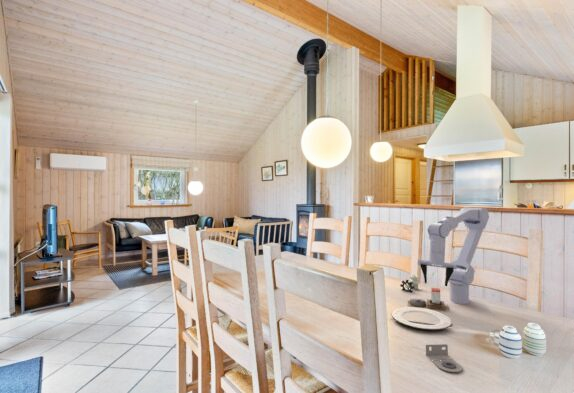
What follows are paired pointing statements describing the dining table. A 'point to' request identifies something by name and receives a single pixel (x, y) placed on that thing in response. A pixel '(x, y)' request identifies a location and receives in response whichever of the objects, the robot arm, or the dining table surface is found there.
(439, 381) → the dining table surface
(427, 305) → the board
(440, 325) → the plate
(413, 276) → the valve
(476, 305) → the dining table surface
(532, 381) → the dining table surface
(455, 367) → the bracket
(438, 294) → the pin
